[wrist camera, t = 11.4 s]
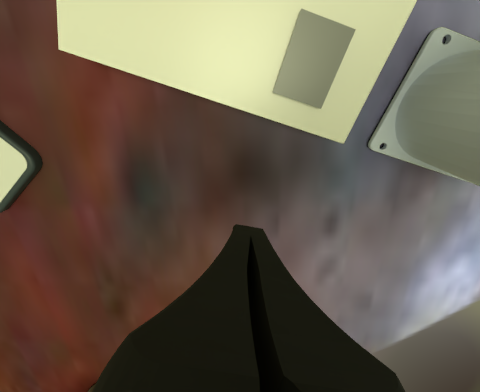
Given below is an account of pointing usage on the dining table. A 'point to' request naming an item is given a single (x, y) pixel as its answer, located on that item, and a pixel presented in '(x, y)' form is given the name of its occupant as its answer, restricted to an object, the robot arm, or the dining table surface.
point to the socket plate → (247, 51)
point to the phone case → (15, 166)
